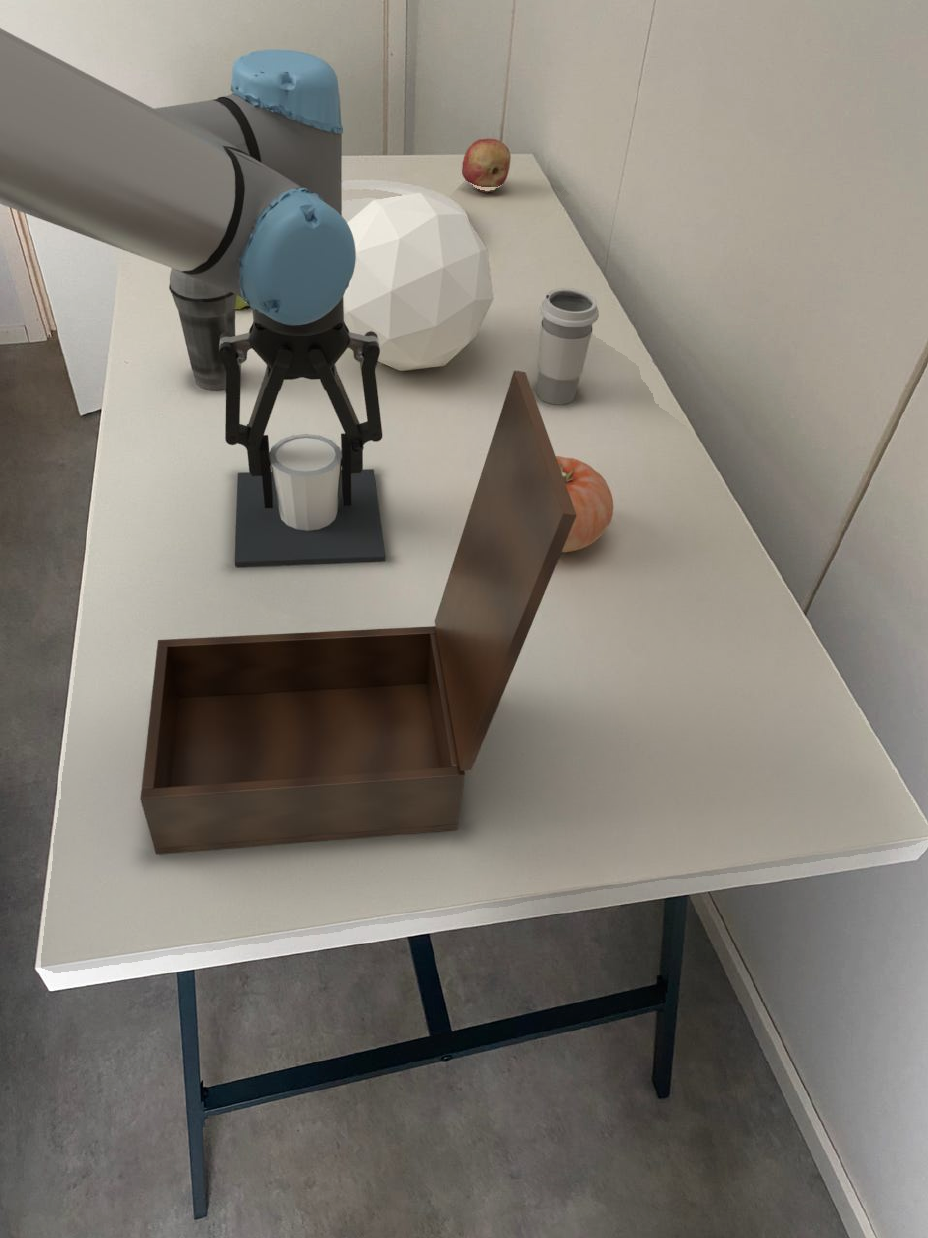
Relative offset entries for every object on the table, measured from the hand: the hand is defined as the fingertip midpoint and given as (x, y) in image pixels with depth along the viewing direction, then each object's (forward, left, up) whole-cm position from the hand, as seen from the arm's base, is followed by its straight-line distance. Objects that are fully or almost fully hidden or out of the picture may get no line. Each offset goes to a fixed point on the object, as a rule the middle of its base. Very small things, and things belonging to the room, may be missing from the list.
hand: (307, 497), depth 94 cm
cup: (+30, +22, -3) cm, 37 cm away
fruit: (+31, +84, -3) cm, 90 cm away
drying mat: (0, 0, -2) cm, 2 cm away
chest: (-1, -30, -2) cm, 30 cm away
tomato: (+24, -4, -3) cm, 24 cm away
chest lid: (+11, -30, +16) cm, 36 cm away
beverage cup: (-10, +26, -3) cm, 28 cm away
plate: (+12, +68, -3) cm, 69 cm away
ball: (+13, +31, -3) cm, 34 cm away
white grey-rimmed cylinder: (0, 0, -2) cm, 2 cm away
